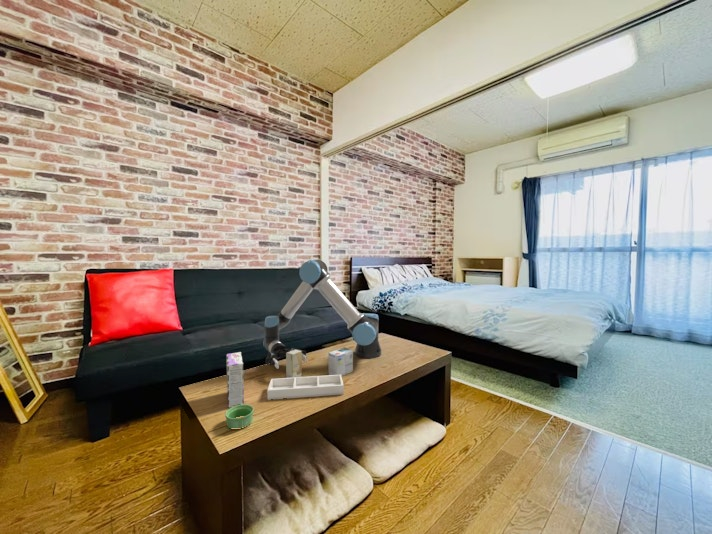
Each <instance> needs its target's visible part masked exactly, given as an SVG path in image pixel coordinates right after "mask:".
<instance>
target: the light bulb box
mask: <svg viewBox="0 0 712 534" xmlns="http://www.w3.org/2000/svg"><path fill="white" fill-rule="evenodd" d="M327 358H328V375H341V376H342V377H343V376H345V375H348V374H350V373H352V372H354V350H353V349H350V348H347V347H341V348H337V349H336V350H332V351H329V352H328V357H327Z"/></svg>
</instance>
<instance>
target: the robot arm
mask: <svg viewBox="0 0 712 534" xmlns="http://www.w3.org/2000/svg"><path fill="white" fill-rule="evenodd" d="M328 269H329V268H328V266H327V264H326V263H325V262H324V261H323V260H320V259H309V260H306V261H305V262H303V263H302V264H301V265H300V267H299V271H298V272H299V277H300V279H301V280H302V281H301V283H300V284H299V286H298V287H297V288H296V290H295V291H294V293H293V294H292V295H291V297H290V298H289V299H288V301H287V302H286V304H285V305H284V306H283V307H282V309H281V311H280V312H279V313H278V314H277V315H269V316H266V317H265V319H264V339H263V342H262V343H263V344H262V345H263V347H264V348H265V350H266V351H268V352H267V355H266V358H265V365H269V366H274V367H275V368H276V369H277V370H278V369H279V368H280V365H279V364H280V363H279V361H278V360H279V359H283V358H286V353H287V352H290V351H293V350H295V349H296V350H300V351H302V361H303V363H307V362H308V360H307V350H303V349H298V348H294V347H291V349H290V348H287V346H286V345H285V344H283V343H282V342H281V341H280V331H281V330H282V329H284V328H285V327H287V326H288V325H289V324H290V322H291V319H292V318H293V317H294V315H296V312H297V311H298V310H299V309H300V307H301V306H302V305H303V304H304V302H305V301H306V299H307V298H308V297H309V295H310V294H311V293H312V292H313V290H317V291H319V293H320V294H321V295H322V297H323V298H324V299H326V300H325V301H327V302H328V303H329V304H330V306H331V307H332V308H333V309H334V310H335V311H336V312H337V314H338V315H339V316H340V317H341V319H343V321H344V322H345V323H346V324H347V329H348V331H349V332H350V333H351V334H352V335H351V336H352V338H353V339H352V340H354V342H355V343H356V345H355V348H354V355H355V356H356V357H359V358H363V357H364V359H372V358H373V359H374V357H375V358H378V357H380V356H381V355H382V348H381V344H380V341H379V320H380V319H379V315H378V314H376V313H365V312H363V313H361V312H360V311H358V309H357V308H356V307H355V306H354V305H353V303H352V302H351V301H350V300H349V299H348V298H347V297H346V295H345V294H344V293H343V292H342V291H341V290H340V289H339V287H338V286H337V285H336V284H335V283H334V282H333V280H332V279H331V274H330V273H329V272H328Z"/></svg>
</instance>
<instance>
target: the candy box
mask: <svg viewBox="0 0 712 534" xmlns="http://www.w3.org/2000/svg"><path fill="white" fill-rule="evenodd" d="M226 380H227V383H226V385H227V408H228V407H229V408H232V407H231V406H236V405H242V404H245V402H244V400H245V399H244V397H245V396H244V395H245V394H244V390H245V389H244V388H245V387H244V362H243V356H242V352H241V351H238V352H232V353H227V354H226Z"/></svg>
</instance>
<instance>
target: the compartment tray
mask: <svg viewBox="0 0 712 534" xmlns="http://www.w3.org/2000/svg"><path fill="white" fill-rule="evenodd" d="M342 377H343V376H341V375H330V374H328V375H327V374H326V375H312V376H311V375H310V376H309V375H308V376H301V377H293V378H286V377H281V378H280V377H279V378H271V379H270V382H269V384H268V387H267V391H266V392H267V393H266V396H267V401H270V400H271V399H273V400H283V398H287V399H297V398H299V399H300V398H312V397H313V398H315V397H326V396H340V395H341V396H342V395H344V391H345V389H344V388H345V387H344V381H343V378H342ZM271 401H272V400H271Z"/></svg>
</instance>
